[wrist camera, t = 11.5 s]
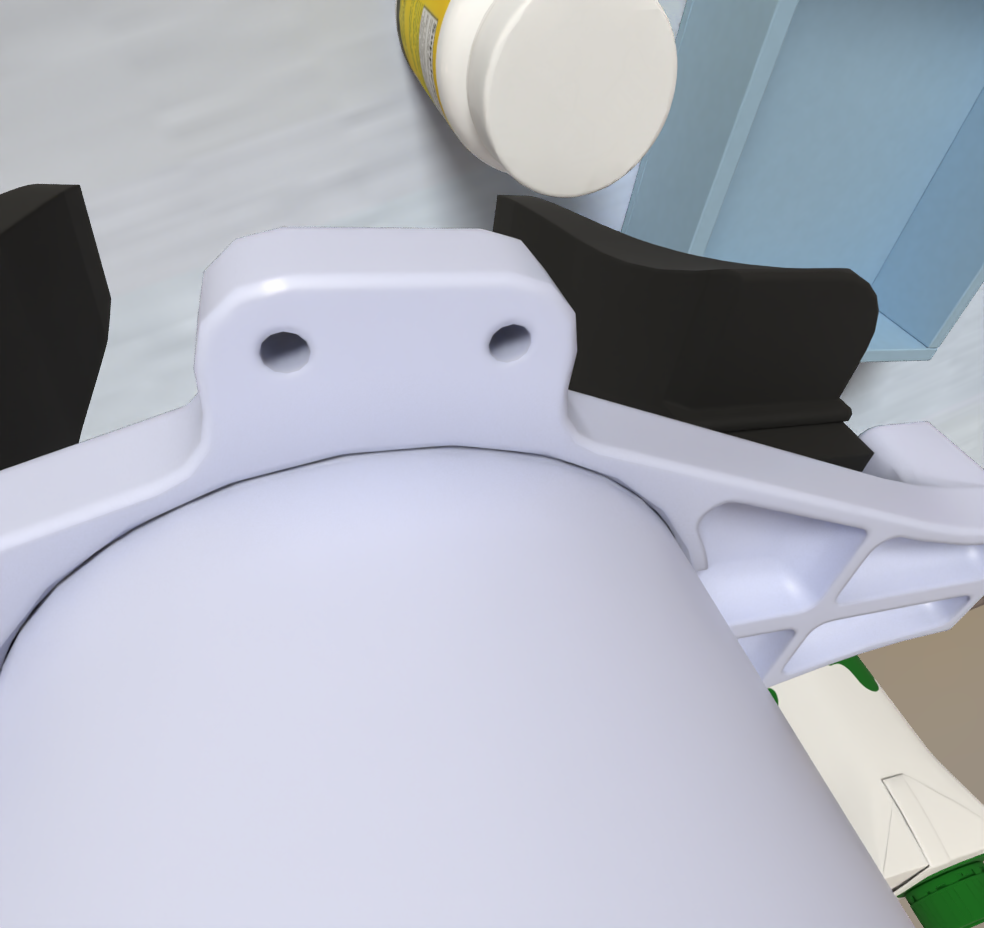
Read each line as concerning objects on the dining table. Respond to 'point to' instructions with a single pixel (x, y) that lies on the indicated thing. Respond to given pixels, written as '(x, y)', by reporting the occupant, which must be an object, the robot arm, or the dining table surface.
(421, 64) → the supplement bottle
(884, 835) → the milk carton
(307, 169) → the dining table surface
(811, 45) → the tub
